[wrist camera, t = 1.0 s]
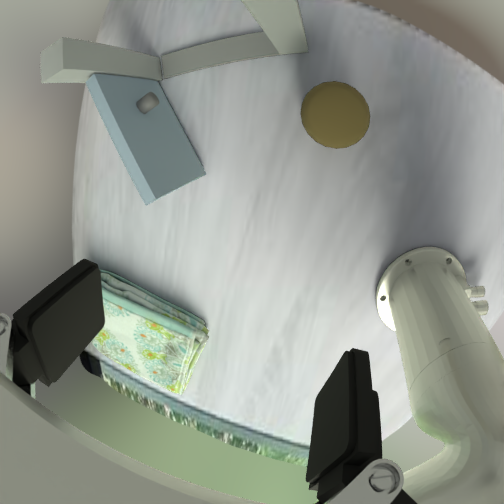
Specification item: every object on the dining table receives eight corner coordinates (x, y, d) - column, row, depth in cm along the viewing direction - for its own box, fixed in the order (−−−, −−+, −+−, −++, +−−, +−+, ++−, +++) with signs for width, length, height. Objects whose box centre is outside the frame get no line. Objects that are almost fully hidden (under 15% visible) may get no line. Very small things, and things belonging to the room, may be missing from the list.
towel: (190, 384, 51) (180, 404, 47) (97, 332, 52) (83, 348, 48) (216, 321, 43) (204, 343, 38) (100, 260, 44) (80, 274, 39)
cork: (301, 89, 27) (291, 72, 18) (359, 91, 26) (377, 75, 16) (303, 144, 30) (294, 154, 20) (360, 146, 29) (378, 158, 19)
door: (149, 86, 30) (85, 82, 20) (167, 73, 29) (106, 62, 19) (197, 178, 33) (145, 205, 23) (218, 167, 32) (170, 190, 22)
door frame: (304, 28, 24) (284, -45, 10) (308, 52, 25) (293, -9, 11) (139, 65, 29) (40, 52, 15) (141, 86, 31) (41, 83, 16)
